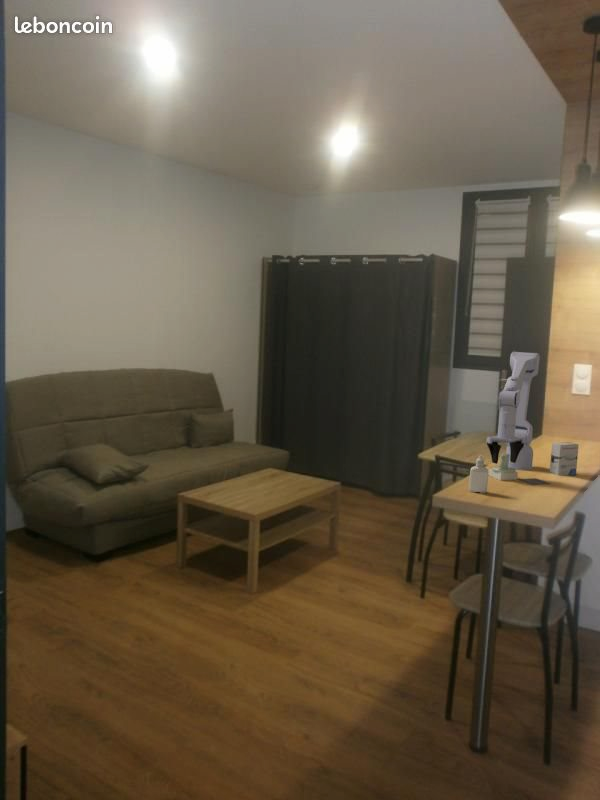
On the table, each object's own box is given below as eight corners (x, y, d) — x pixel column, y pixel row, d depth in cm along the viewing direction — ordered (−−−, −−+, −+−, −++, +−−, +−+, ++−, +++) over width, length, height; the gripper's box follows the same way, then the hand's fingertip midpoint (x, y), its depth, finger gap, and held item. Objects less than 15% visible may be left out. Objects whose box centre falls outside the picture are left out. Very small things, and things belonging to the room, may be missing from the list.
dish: (504, 475, 238) (505, 467, 238) (517, 480, 232) (517, 472, 231) (488, 476, 236) (488, 468, 236) (500, 481, 229) (501, 473, 229)
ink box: (566, 472, 248) (569, 441, 247) (576, 475, 244) (579, 444, 242) (548, 473, 245) (551, 442, 244) (558, 476, 241) (561, 444, 239)
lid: (505, 467, 238) (506, 451, 238) (520, 472, 231) (521, 456, 230) (487, 468, 235) (488, 452, 235) (502, 473, 228) (503, 457, 227)
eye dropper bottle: (483, 494, 211) (486, 458, 210) (466, 491, 215) (469, 455, 213) (488, 492, 215) (491, 455, 213) (472, 488, 218) (474, 453, 217)
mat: (536, 479, 235) (536, 478, 235) (551, 485, 228) (551, 483, 228) (517, 480, 232) (517, 479, 232) (532, 486, 225) (532, 485, 225)
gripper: (496, 427, 225) (493, 466, 227) (531, 426, 230) (528, 464, 232) (484, 423, 232) (481, 461, 234) (518, 422, 237) (515, 459, 238)
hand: (503, 462), depth 233 cm, fingers open, 7 cm apart
